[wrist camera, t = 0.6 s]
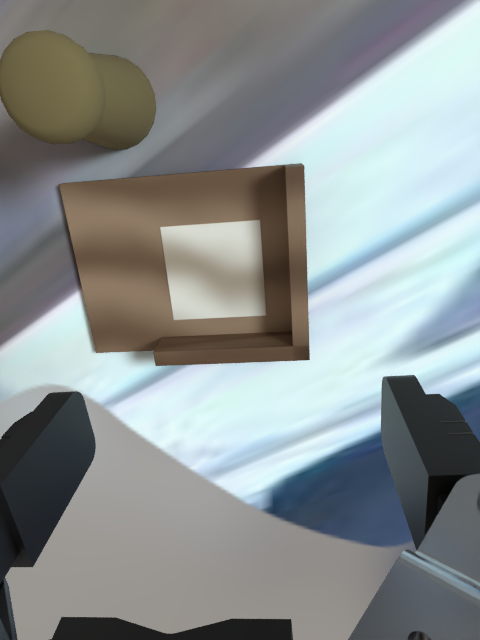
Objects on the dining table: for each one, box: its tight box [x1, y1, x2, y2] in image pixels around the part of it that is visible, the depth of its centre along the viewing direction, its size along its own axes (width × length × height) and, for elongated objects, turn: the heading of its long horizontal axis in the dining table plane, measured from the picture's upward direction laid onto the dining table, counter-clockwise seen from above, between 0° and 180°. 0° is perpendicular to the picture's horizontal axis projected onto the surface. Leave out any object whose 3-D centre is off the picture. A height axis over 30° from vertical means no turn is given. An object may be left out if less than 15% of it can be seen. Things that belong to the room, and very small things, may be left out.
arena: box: [59, 164, 310, 366], centre depth 34 cm, size 14×18×4 cm
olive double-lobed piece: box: [0, 30, 156, 150], centre depth 26 cm, size 6×6×11 cm
